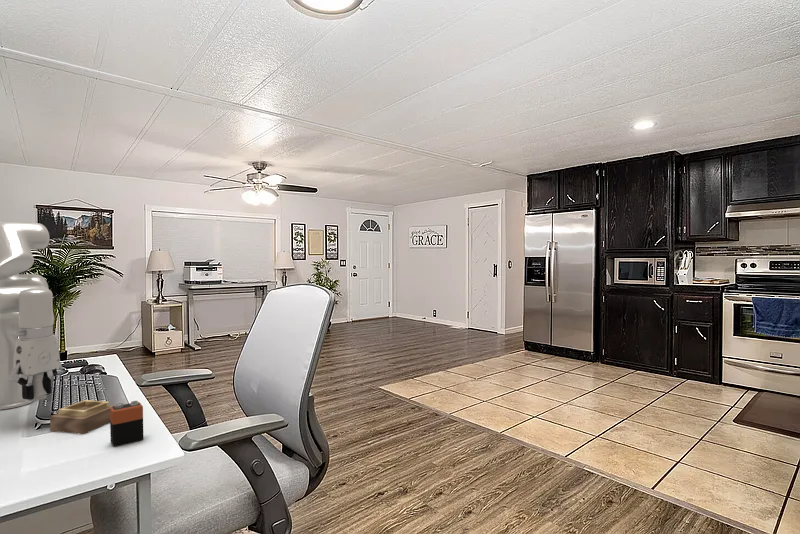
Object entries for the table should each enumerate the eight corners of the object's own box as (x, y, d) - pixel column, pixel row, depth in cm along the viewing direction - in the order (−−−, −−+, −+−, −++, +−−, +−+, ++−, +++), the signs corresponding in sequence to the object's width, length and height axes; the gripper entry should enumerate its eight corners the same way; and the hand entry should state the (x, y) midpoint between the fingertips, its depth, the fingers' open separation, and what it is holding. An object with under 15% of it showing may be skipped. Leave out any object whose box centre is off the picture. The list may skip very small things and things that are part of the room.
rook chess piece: (43, 395, 133) (43, 368, 132) (49, 398, 130) (49, 371, 130) (24, 399, 129) (24, 371, 129) (30, 402, 127) (29, 374, 126)
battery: (110, 442, 117) (109, 403, 116) (140, 435, 121) (139, 397, 121) (113, 447, 113) (112, 407, 113) (143, 440, 118) (143, 401, 118)
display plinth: (50, 430, 124) (49, 410, 124) (85, 416, 135) (85, 398, 135) (83, 434, 122) (83, 413, 122) (117, 419, 133) (117, 400, 132)
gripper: (16, 339, 120) (17, 407, 121) (74, 328, 136) (74, 388, 137) (-7, 337, 121) (-6, 404, 122) (53, 326, 138) (54, 385, 139)
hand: (37, 395), depth 130 cm, fingers closed on rook chess piece, 4 cm apart
